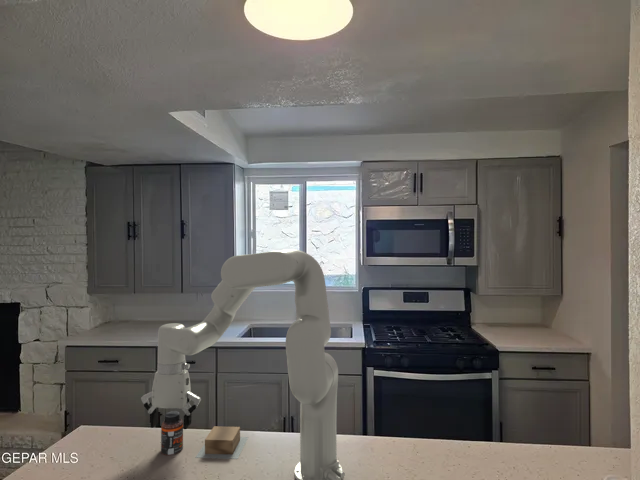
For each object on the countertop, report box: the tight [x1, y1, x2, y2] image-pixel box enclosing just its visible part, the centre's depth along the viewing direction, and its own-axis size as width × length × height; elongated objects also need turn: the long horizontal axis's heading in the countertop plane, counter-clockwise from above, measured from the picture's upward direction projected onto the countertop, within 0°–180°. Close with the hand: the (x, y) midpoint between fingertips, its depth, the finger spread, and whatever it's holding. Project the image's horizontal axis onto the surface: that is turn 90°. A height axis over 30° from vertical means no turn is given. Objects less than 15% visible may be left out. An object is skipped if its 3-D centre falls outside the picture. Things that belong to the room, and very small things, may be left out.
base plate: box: [195, 436, 249, 460], centre depth 115 cm, size 12×12×1 cm
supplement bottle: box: [160, 410, 184, 456], centre depth 114 cm, size 6×6×11 cm
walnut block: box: [204, 425, 241, 455], centre depth 115 cm, size 8×8×4 cm
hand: (170, 426), depth 114 cm, fingers open, 9 cm apart
